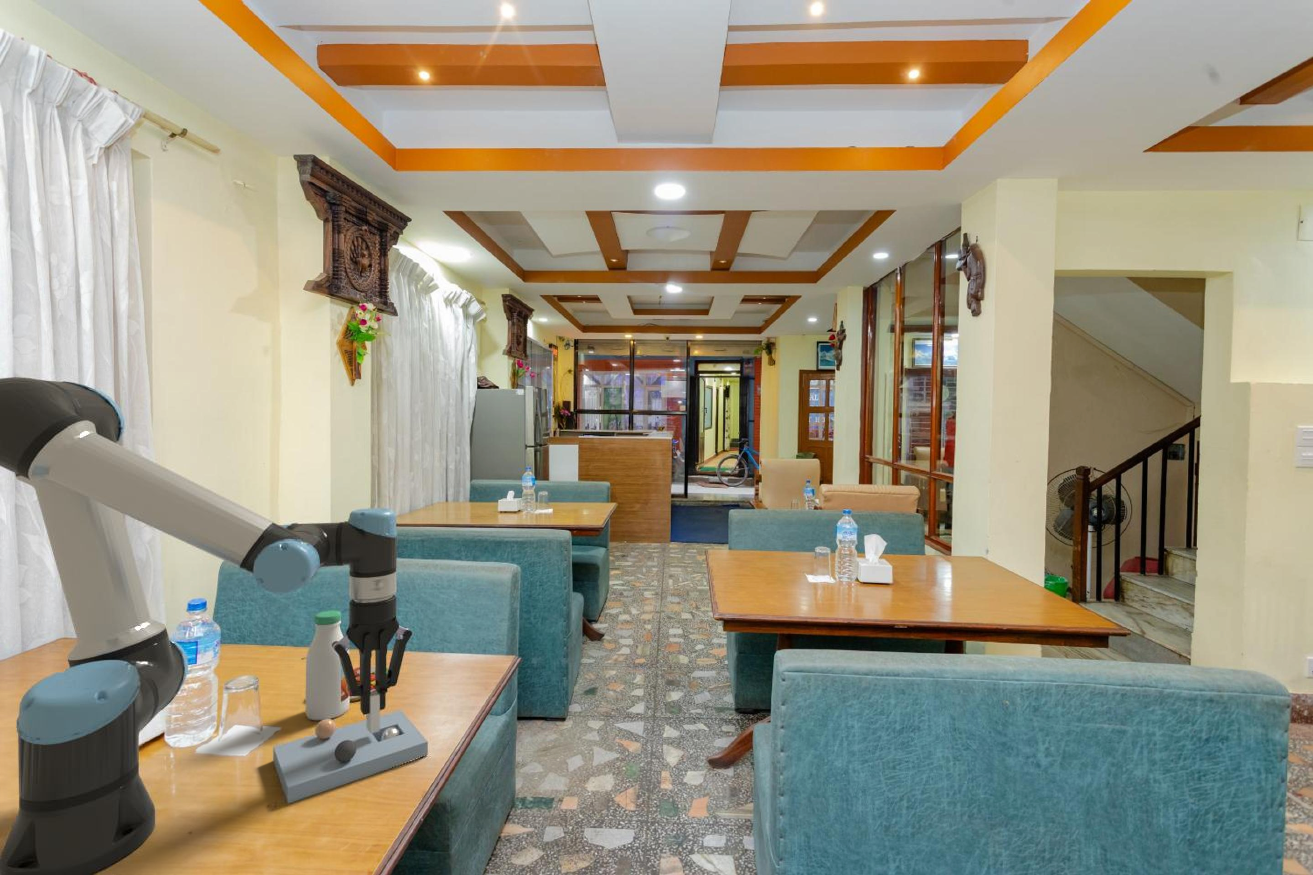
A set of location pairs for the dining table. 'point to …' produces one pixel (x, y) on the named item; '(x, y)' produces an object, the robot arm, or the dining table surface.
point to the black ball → (345, 751)
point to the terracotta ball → (325, 728)
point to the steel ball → (390, 733)
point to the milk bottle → (325, 671)
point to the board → (317, 770)
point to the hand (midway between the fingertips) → (373, 729)
